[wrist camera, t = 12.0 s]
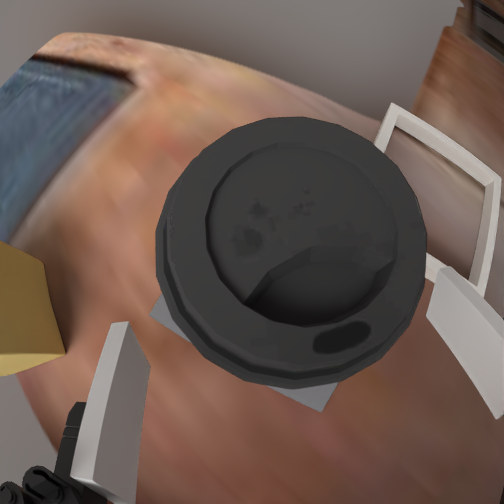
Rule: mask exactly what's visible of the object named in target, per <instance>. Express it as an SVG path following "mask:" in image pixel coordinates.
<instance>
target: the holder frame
mask: <svg viewBox="0 0 504 504" xmlns="http://www.w3.org/2000/svg"><path fill="white" fill-rule="evenodd" d="M394 126H397V127H398V128H400V129H402V130H404V131H405V132H407V133H409V134H410V135H412V136H414V137H415V138H417V139H418V140H420V141H422V142H423V143H425V144H426V145H428V146H429V147H431V148H433V149H434V150H436V151H437V152H439V153H440V154H442V155H443V156H444V157H446V158H447V159H449V160H450V161H452V162H453V163H455V164H456V165H457V166H459V167H460V168H461V169H463V170H464V171H466V172H467V173H468V174H470V175H471V176H472V177H473V178H475V179H476V180H477V181H479V182H480V183H481V184H482V185H484V186H485V195H484V203H483V210H482V217H481V223H480V229H479V235H478V240H477V245H476V250H475V254H474V259H473V263H472V268H471V272H470V276H469V279H468V280H467V279H465V278H464V277H463V278H464V279H465V280H466V281H467V282H468V283H469V284H470V285H471V286H472V287H473V288H474V289H475V290H476V291H477V292H478V293H479V294H480V295H481V297H482V298H483V297H484V294H485V289H486V285H487V281H488V276H489V272H490V267H491V262H492V257H493V251H494V245H495V239H496V232H497V224H498V216H499V206H500V194H501V177H500V176H499V175H497V174H496V173H495V172H494V171H493V170H491V169H490V168H489V167H488V166H486V165H485V164H484V163H483V162H481V161H480V160H479V159H478V158H476V157H475V156H474V155H472V154H471V153H470V152H468V151H467V150H466V149H464V148H463V147H461V146H460V145H459V144H457V143H456V142H454V141H453V140H452V139H450V138H449V137H447V136H446V135H444V134H443V133H441V132H440V131H438V130H437V129H435V128H434V127H432V126H431V125H429V124H427V123H426V122H424V121H423V120H421V119H419V118H418V117H416V116H414V115H413V114H411V113H409V112H408V111H406V110H404V109H402V108H400V107H399V106H397V105H395V104H393V103H391V105H390V107H389V109H388V111H387V112H386V114H385V117H384V119H383V122H382V124H381V127H380V129H379V131H378V134H377V136H376V138H375V141H374V143H373V144H374V145H375V146H376V147H377V148H378V149H379V150H381V151H382V152H383V153H384V152H385V150H386V147H387V144H388V142H389V139H390V136H391V134H392V131H393V128H394ZM444 267H448V266H446V265H445V264H443V263H442V262H440V261H439V260H437V259H436V258H434V257H433V256H431V255H430V254H428V253H426V272H425V278H427V279H429V280H430V281H432V282H433V283H435V281H436V277H437V272H438V269H440V268H444ZM460 276H461V275H460ZM461 277H462V276H461Z"/></svg>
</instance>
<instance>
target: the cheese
mask: <svg viewBox="0 0 504 504" xmlns="http://www.w3.org/2000/svg"><path fill="white" fill-rule="evenodd" d="M64 355H65V350H64V346H63V342H62V339H61V335H60V332H59V329H58V325H57V322H56V319H55V315H54V312H53V308H52V305H51V301H50V296H49V291H48V286H47V281H46V276H45V270H44V264H43V262H41V261H39V260H38V259H36V258H34V257H33V256H31V255H29V254H27V253H25V252H23V251H21V250H19V249H16V248H14V247H12V246H10V245H8V244H6V243H4V242H2V241H0V376H5V375H10V374H13V373H17V372H20V371H23V370H26V369H29V368H32V367H34V366H37V365H40V364H42V363H45V362H47V361H50V360H52V359H55V358H58V357H61V356H64Z"/></svg>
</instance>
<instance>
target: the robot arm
mask: <svg viewBox="0 0 504 504" xmlns="http://www.w3.org/2000/svg"><path fill="white" fill-rule="evenodd" d="M426 317H427V318H428V320H429V321H430V322H431V324H432V325H433V326H434V328H435V329H436V330H437V332H438V333H439V334H440V336H441V337H442V339H443V340H444V341H445V343H446V344H447V345H448V347H449V348H450V350H451V351H452V352H453V354H454V355H455V357H456V358H457V360H458V361H459V362H460V364H461V365H462V367H463V368H464V370H465V371H466V373H467V374H468V376H469V377H470V379H471V380H472V382H473V383H474V385H475V386H476V388H477V390H478V391H479V393H480V394H481V396H482V397H483V399H484V401H485V402H486V404H487V405H488V407H489V409H490V410H491V412H492V414H493V415H494V417H495V419H498V418H499V417H501V416H502V415H504V318H503V319H502V318H501V317H500V316H499V315H498V313H497V312H496V311H495V310H494V309H493V308H492V307H491V306H490V305H489V304H488V303H487V302H486V301H485V300H484V299H483V298H482V297H481V295H480V294H479V293H478V292H477V291H476V290H475V289H474V288H473V287H472V286H471V285H470V284H469V283H468V282H467V281H466V280H465V279H464V278H463V277H461V276H460V275H459V274H458V273H457V272H456V271H455V270H454V269H453V268H452V267H451V266H448V267H444V268H440V269H438V272H437V277H436V281H435V285H434V289H433V292H432V296H431V300H430V304H429V307H428V310H427V314H426ZM150 368H151V366H150V364H149V362H148V361H147V359H146V357H145V355H144V353H143V351H142V349H141V347H140V345H139V342H138V340H137V338H136V336H135V334H134V332H133V330H132V328H131V326H130V323H129V321H128V322H117V323H112V324H111V327H110V330H109V333H108V335H107V338H106V341H105V344H104V347H103V350H102V353H101V356H100V360H99V363H98V366H97V369H96V372H95V376H94V379H93V382H92V386H91V389H90V393H89V396H88V400H87V402H76V403H75V405H74V406H73V408H72V409H71V411H70V412H69V414H68V418H67V421H66V428H65V429H64V432H63V438H62V440H61V444H60V448H59V452H58V457H57V461H56V466H55V471H54V473H52V472H51V471H50V470H48V469H47V468H45V467H43V466H34V467H31V468H30V469H29V470H28V471H27V472H26V473H25V475H24V477H23V482H22V486H23V487H20V486H18V485H17V484H15V483H13V482H8V481H7V482H5V483H3V484H2V485H1V486H0V504H107V500H109V501H111V502H113V503H115V504H135V499H136V484H137V471H138V460H139V450H140V440H141V432H142V423H143V415H144V408H145V400H146V393H147V387H148V380H149V374H150ZM500 504H504V488H503V492H502V496H501V500H500Z"/></svg>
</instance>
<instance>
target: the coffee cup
mask: <svg viewBox="0 0 504 504" xmlns="http://www.w3.org/2000/svg"><path fill="white" fill-rule="evenodd" d="M426 253H427V232H426V228H425V225H424V221H423V217H422V213H421V210H420V206H419V203H418V200H417V197H416V195H415V194H414V192H413V190H412V189H411V187H410V185H409V184H408V182H407V181H406V179H405V177H404V176H403V174H402V173H401V171H400V169H399V168H398V166H397V165H395V164H394V163H393V162H392V161H391V160H390V159H389V158H388V157H387V156H386V155H385V154H384V153H383V152H382V151H381V150H379V149H378V148H377V147H376V146H375V145H374V144H373V143H372V142H370V141H369V140H367V139H365V138H363V137H361V136H359V135H358V134H356V133H354V132H352V131H350V130H348V129H346V128H344V127H342V126H340V125H338V124H334V123H329V122H325V121H321V120H316V119H312V118H307V117H278V118H266V119H263V120H259V121H256V122H253V123H250V124H247V125H244V126H241V127H238V128H235V129H232V130H231V131H229V132H228V133H226V134H225V135H223V136H222V137H221V138H219V139H218V140H216V141H215V142H213V143H212V144H211V145H209V146H208V147H206V148H205V149H203V150H202V151H201V153H200V154H199V155H198V156H197V157H196V158H194V159H193V160H192V161H191V162H190V164H189V165H188V166H187V168H186V169H185V170H184V172H183V173H182V174H181V176H180V177H179V178H178V180H177V181H176V182H175V184H174V185H173V186H172V188H171V189H170V190H169V192H168V195H167V198H166V201H165V204H164V207H163V210H162V213H161V216H160V219H159V222H158V225H157V228H156V277H157V280H158V283H159V285H160V288H161V291H162V294H163V296H164V299H165V302H166V304H167V307H168V310H169V312H170V315H171V318H172V320H173V321H174V322H175V323H176V325H177V326H178V327H179V328H180V330H181V331H182V332H183V333H184V334H185V336H186V337H187V338H188V339H189V340H190V342H191V343H192V344H193V345H194V346H195V347H196V349H197V350H198V351H199V352H200V353H201V354H202V356H203V357H204V358H206V359H208V360H209V361H211V362H213V363H214V364H216V365H218V366H219V367H221V368H223V369H224V370H226V371H228V372H230V373H231V374H233V375H235V376H236V377H238V378H240V379H242V380H244V381H247V382H252V383H257V384H262V385H267V386H272V387H278V388H284V389H290V390H291V389H292V390H295V389H302V388H308V387H314V386H320V385H326V384H332V383H337V382H341V381H343V380H345V379H347V378H348V377H350V376H352V375H354V374H356V373H357V372H359V371H361V370H363V369H364V368H366V367H368V366H370V365H371V364H373V363H375V362H376V361H378V360H380V359H381V358H382V357H383V356H384V355H385V353H386V352H387V351H388V350H389V349H390V348H391V347H392V345H393V344H394V343H395V342H396V341H397V340H398V338H399V337H400V336H401V335H402V334H403V332H404V331H405V330H406V329H407V328H408V326H409V325H410V322H411V320H412V317H413V315H414V313H415V310H416V307H417V305H418V302H419V300H420V297H421V294H422V292H423V289H424V284H425V272H426Z"/></svg>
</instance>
